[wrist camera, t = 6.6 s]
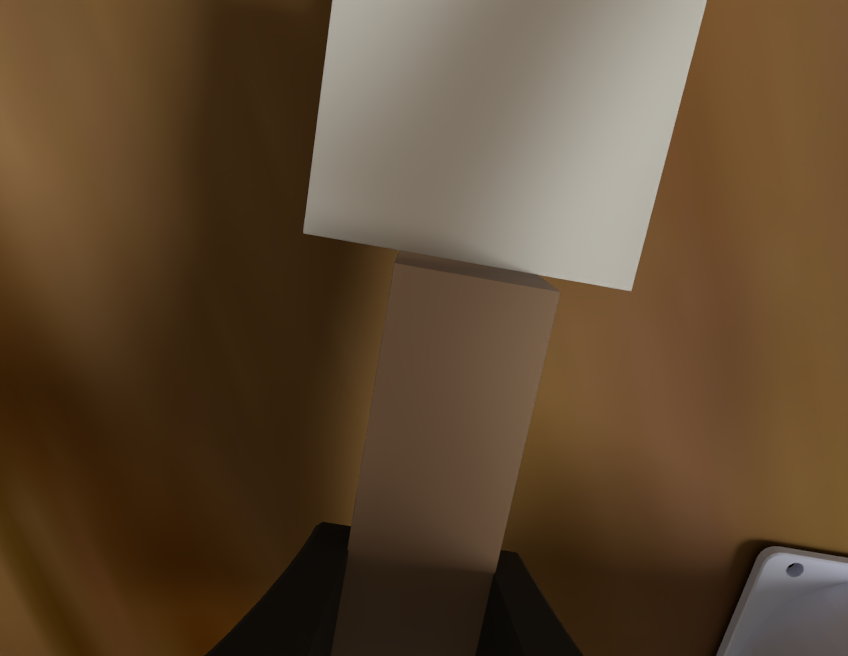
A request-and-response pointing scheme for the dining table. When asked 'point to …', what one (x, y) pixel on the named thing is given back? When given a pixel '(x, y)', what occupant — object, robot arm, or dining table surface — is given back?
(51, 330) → the dining table surface
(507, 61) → the turner
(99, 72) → the dining table surface
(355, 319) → the dining table surface
